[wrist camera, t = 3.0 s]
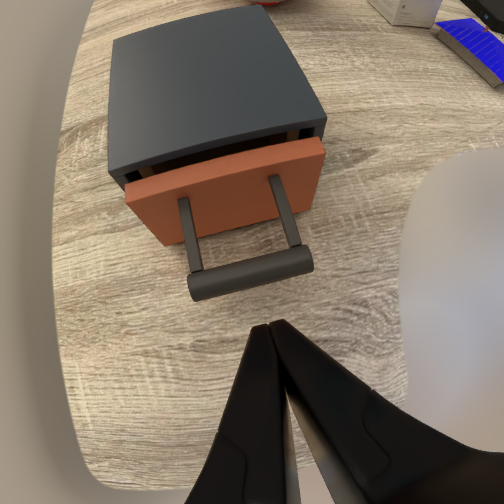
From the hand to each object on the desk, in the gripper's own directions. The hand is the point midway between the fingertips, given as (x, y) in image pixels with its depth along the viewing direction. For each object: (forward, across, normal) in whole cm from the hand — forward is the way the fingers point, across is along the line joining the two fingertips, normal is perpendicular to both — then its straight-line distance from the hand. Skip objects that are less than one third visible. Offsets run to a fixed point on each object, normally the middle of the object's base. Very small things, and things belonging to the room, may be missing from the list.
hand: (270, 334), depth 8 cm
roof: (+28, -39, -9) cm, 49 cm away
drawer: (+17, 0, +1) cm, 17 cm away
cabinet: (+21, 0, -2) cm, 21 cm away
